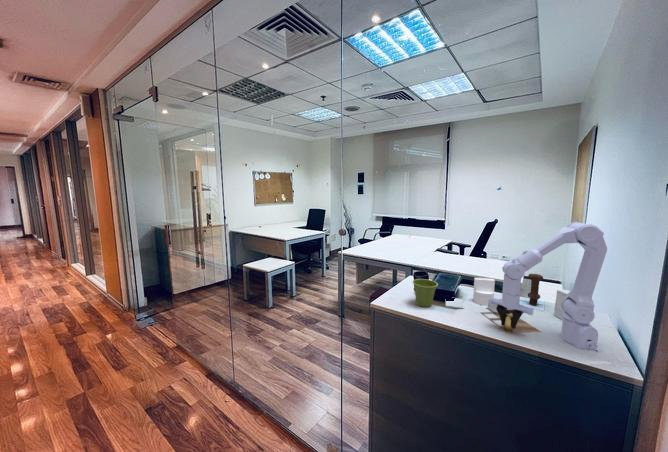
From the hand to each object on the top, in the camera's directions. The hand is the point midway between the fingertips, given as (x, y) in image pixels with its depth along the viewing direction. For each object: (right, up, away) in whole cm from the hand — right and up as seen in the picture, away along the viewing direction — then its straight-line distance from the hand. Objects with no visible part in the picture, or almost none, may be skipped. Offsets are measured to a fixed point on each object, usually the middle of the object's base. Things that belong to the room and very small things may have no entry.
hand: (508, 326), depth 105 cm
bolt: (+30, 0, +27) cm, 41 cm away
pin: (0, -2, 0) cm, 2 cm away
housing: (+8, +1, +17) cm, 19 cm away
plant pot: (-24, 0, +27) cm, 36 cm away
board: (+5, -2, +10) cm, 11 cm away
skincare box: (+33, -1, +12) cm, 35 cm away
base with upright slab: (+7, +1, +30) cm, 31 cm away
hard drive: (-9, 0, +28) cm, 29 cm away
